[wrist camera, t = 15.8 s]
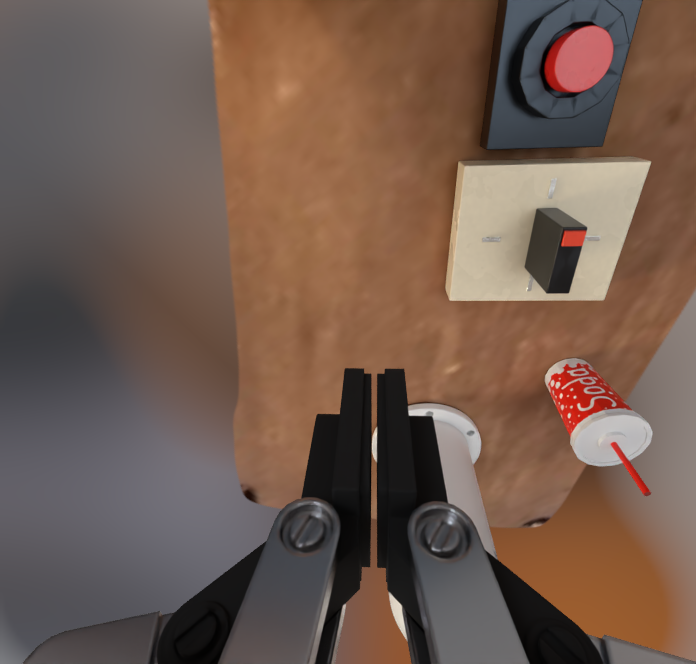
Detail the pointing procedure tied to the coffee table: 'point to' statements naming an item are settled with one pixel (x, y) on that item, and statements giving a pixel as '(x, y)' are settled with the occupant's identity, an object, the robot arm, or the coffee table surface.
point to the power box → (529, 80)
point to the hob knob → (554, 249)
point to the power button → (579, 59)
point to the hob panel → (518, 217)
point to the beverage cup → (597, 417)
